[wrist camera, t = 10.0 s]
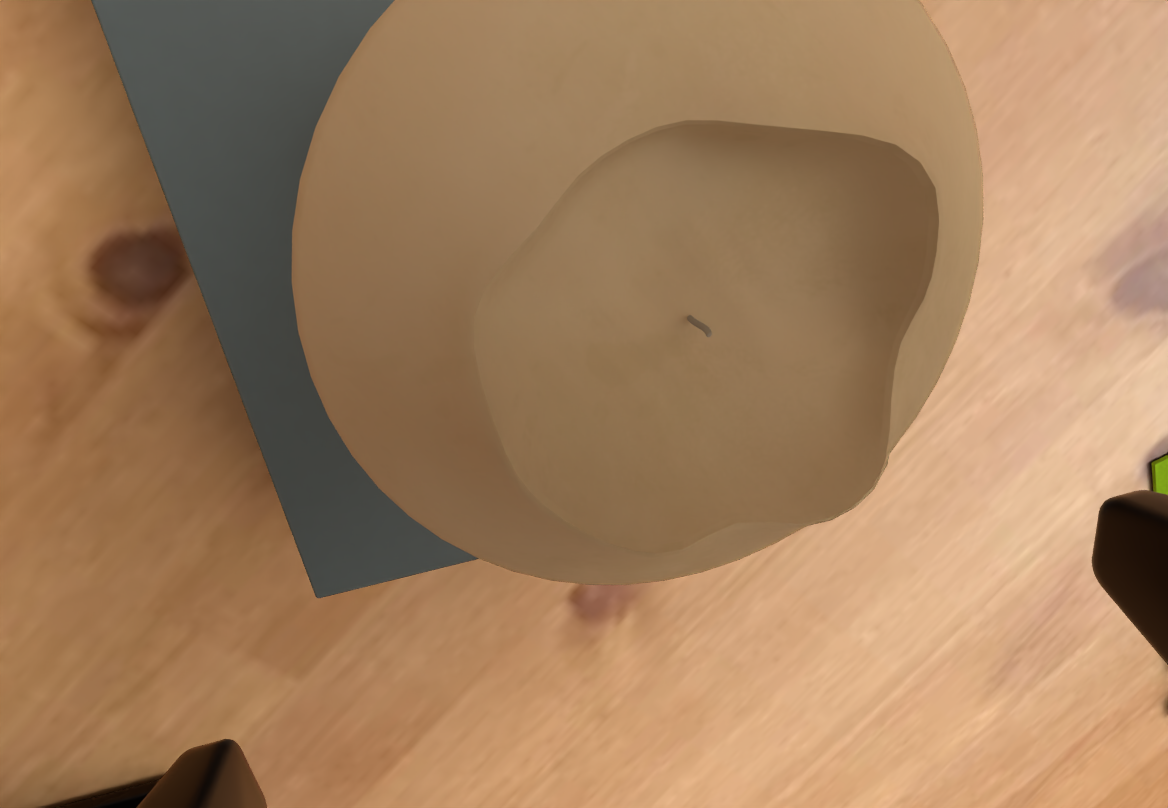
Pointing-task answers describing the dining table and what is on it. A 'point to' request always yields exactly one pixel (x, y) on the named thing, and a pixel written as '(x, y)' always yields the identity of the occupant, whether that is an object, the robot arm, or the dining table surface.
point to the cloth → (1160, 475)
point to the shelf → (263, 241)
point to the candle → (635, 268)
